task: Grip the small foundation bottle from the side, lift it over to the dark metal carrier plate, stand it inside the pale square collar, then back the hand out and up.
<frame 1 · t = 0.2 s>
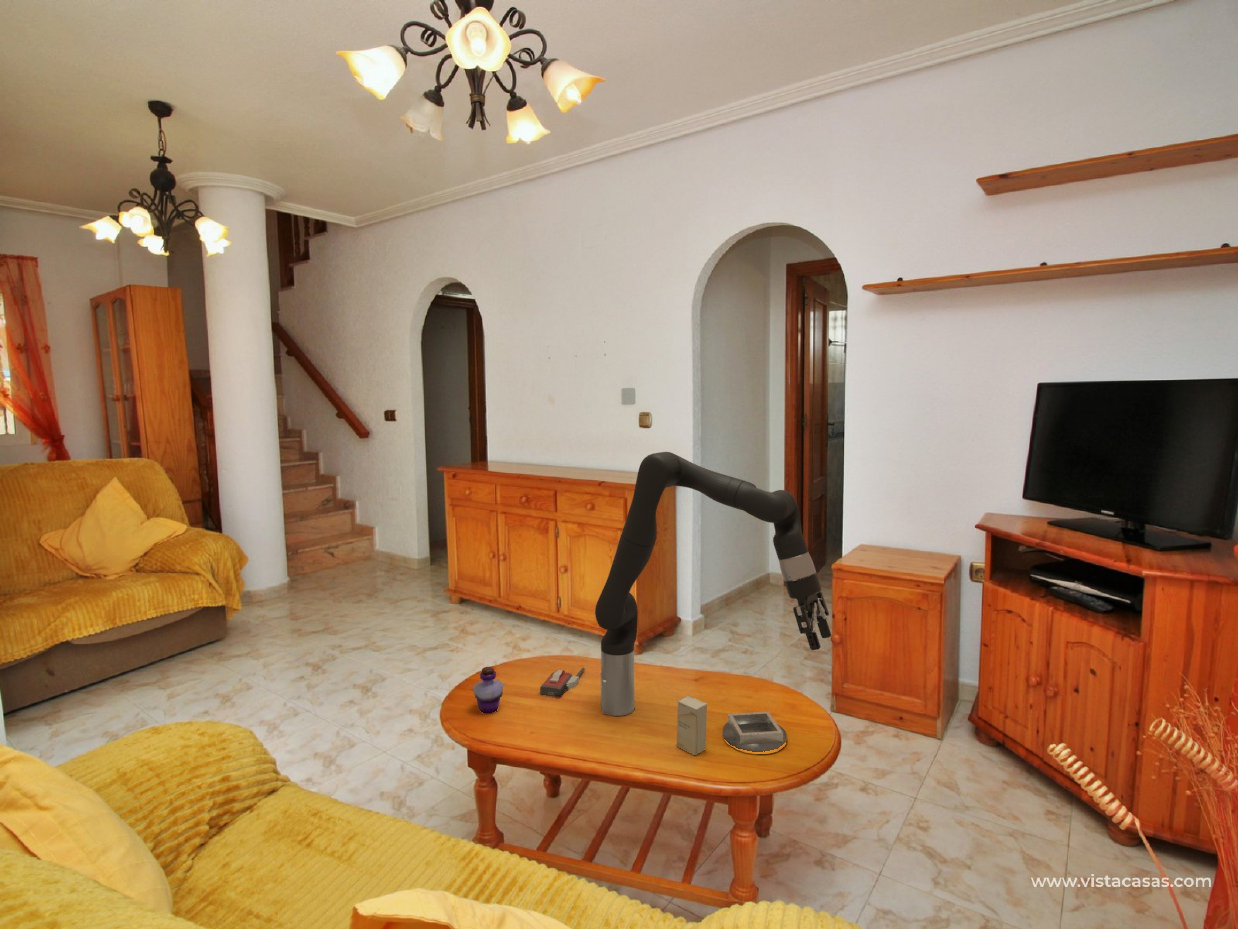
hand: (821, 643, 151), 31 cm above the table, tool tilted 20°, fingers open, 8 cm apart
skincare box: (691, 749, 164), on the table
potion bottle: (489, 710, 185), on the table
walkie-talkie: (563, 685, 201), on the table
carrier: (754, 738, 169), on the table
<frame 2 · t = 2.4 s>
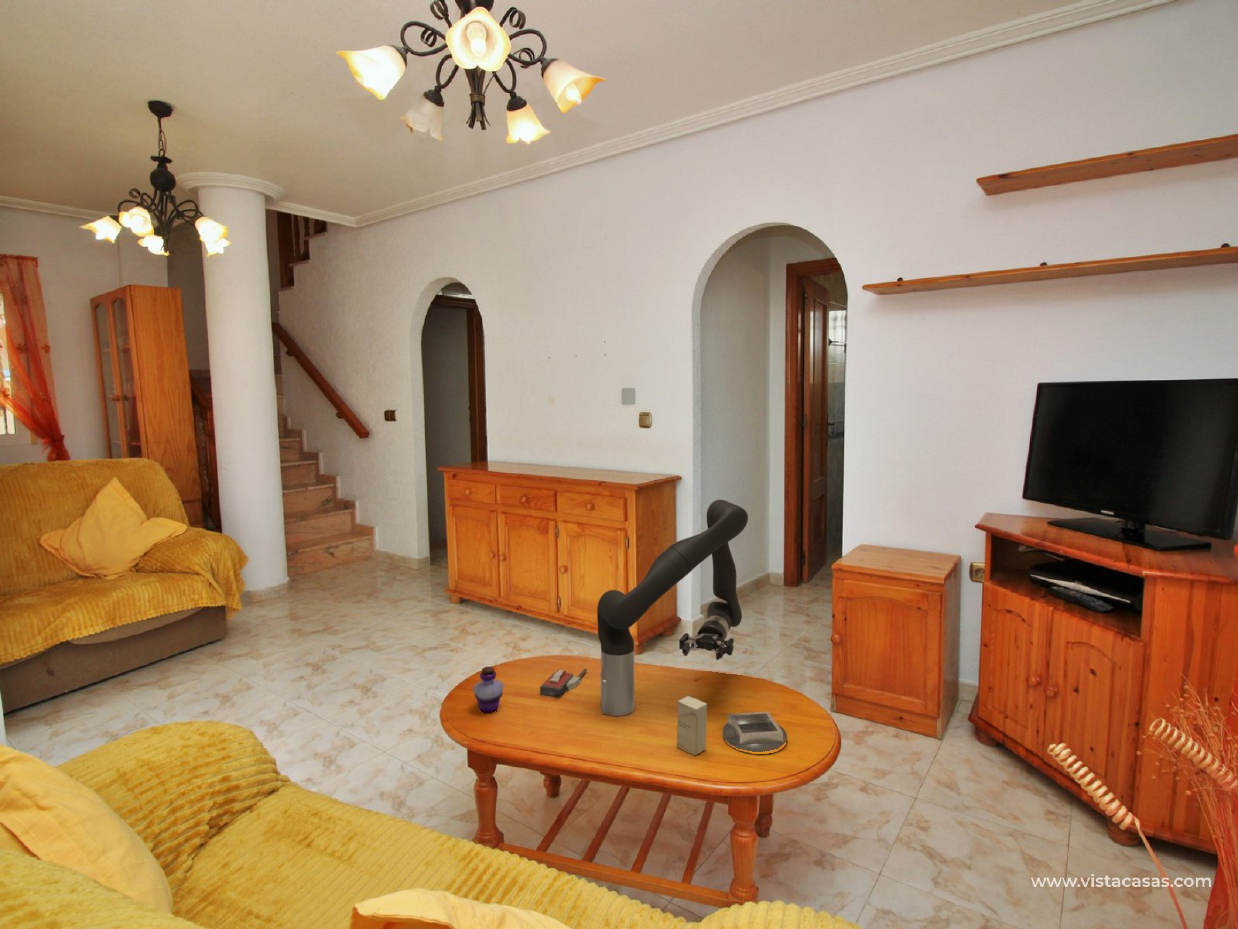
hand: (701, 654, 172), 20 cm above the table, tool horizontal, fingers open, 8 cm apart
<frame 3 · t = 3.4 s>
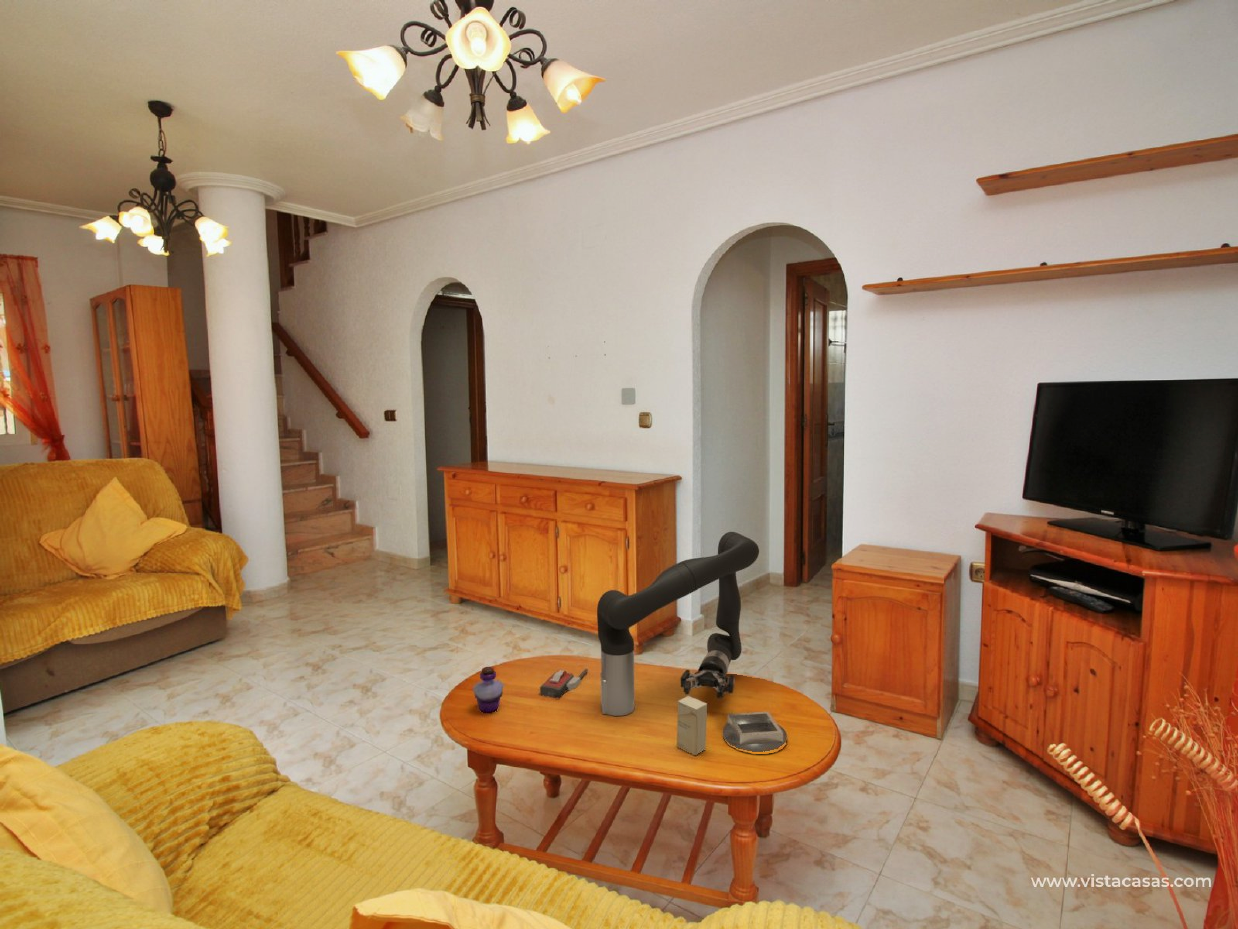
hand: (702, 693, 173), 9 cm above the table, tool horizontal, fingers open, 8 cm apart
nothing on the table moved.
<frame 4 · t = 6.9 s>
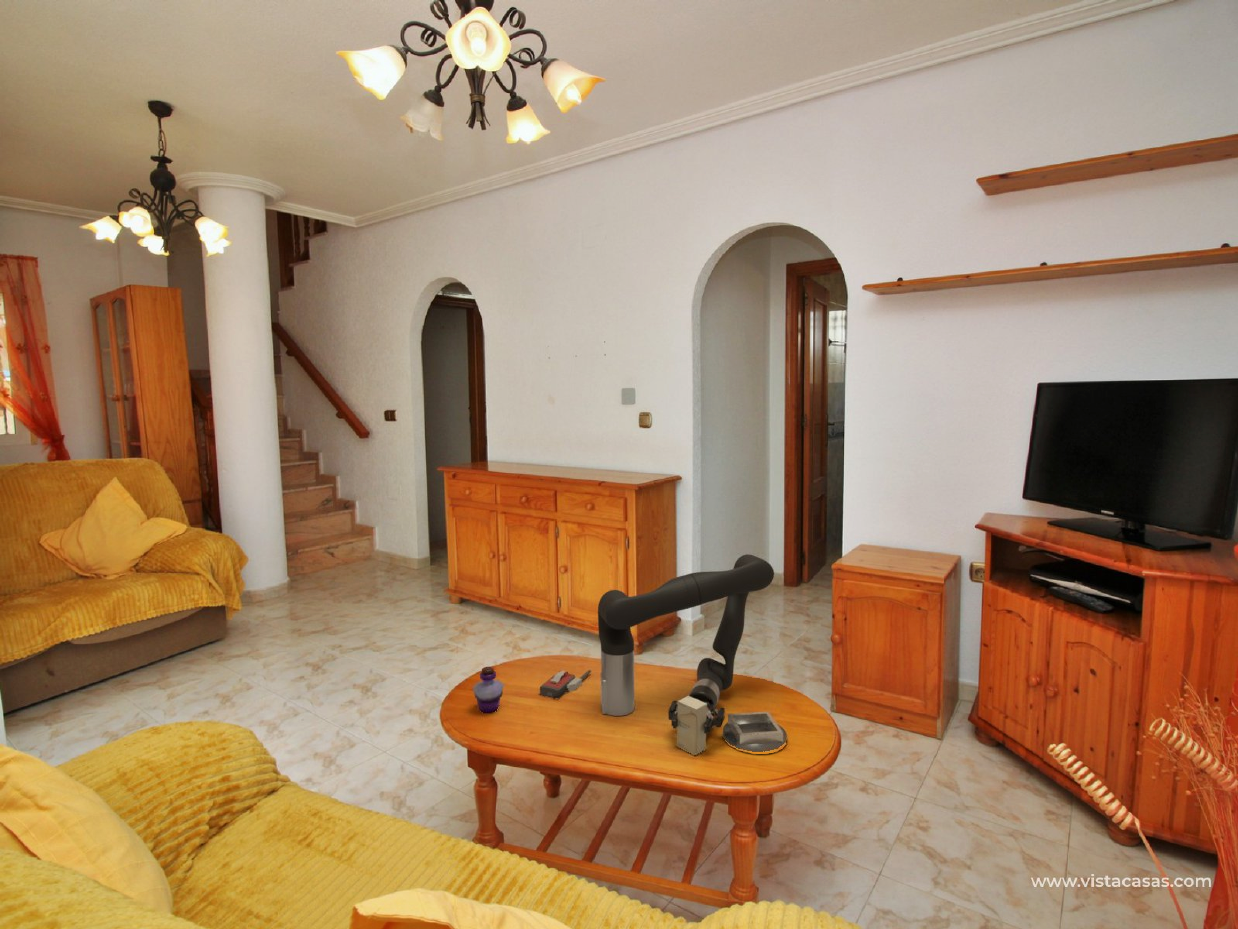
hand: (689, 727, 161), 7 cm above the table, tool horizontal, fingers closed on skincare box, 7 cm apart
skincare box: (691, 749, 164), on the table, touching gripper
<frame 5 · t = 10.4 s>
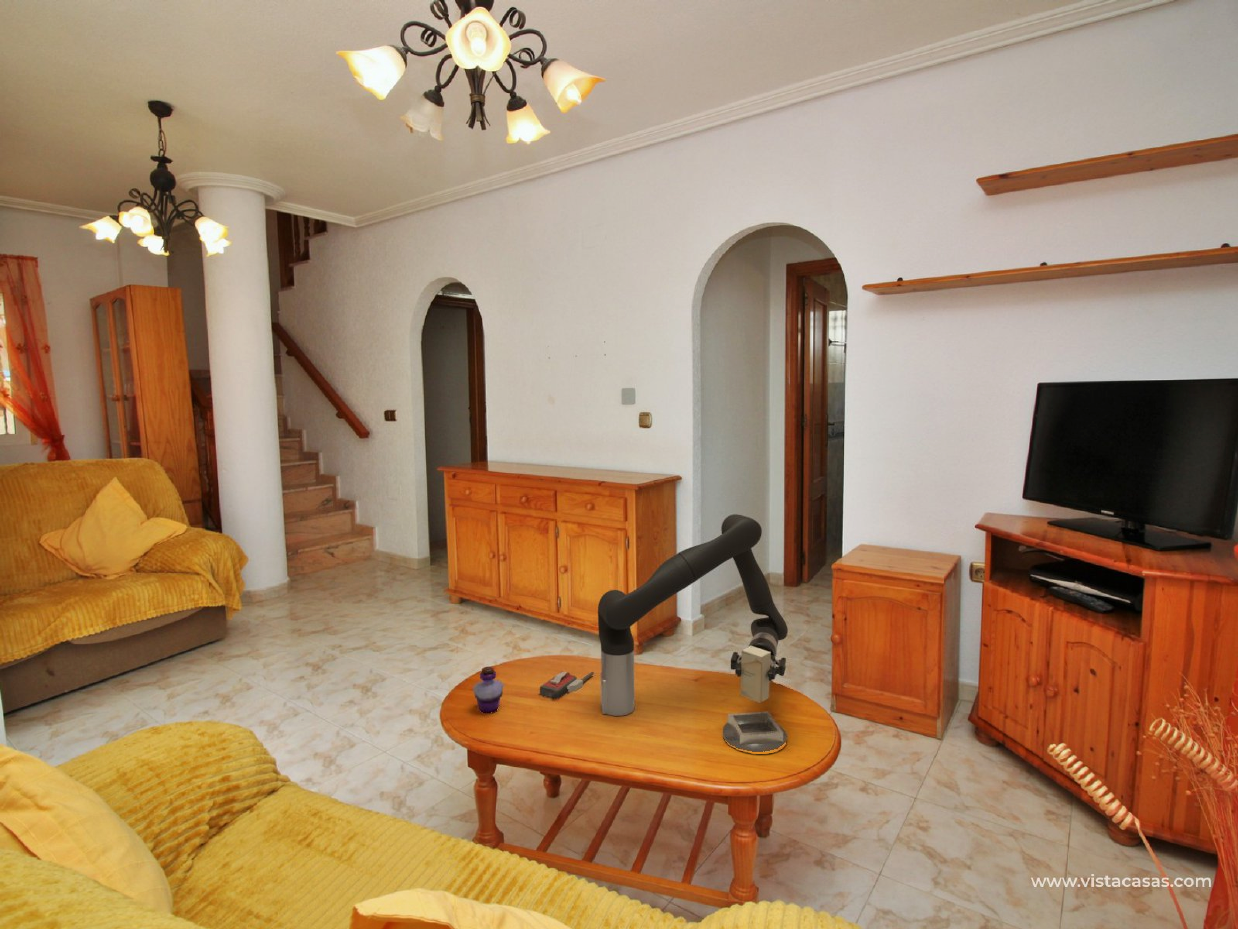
hand: (754, 675, 165), 18 cm above the table, tool horizontal, fingers closed on skincare box, 7 cm apart
skincare box: (755, 697, 167), point 11 cm above the table, touching gripper
when the fingers open (9 cm above the table, at t = 13.0 s): skincare box stays where it is, resting on carrier.
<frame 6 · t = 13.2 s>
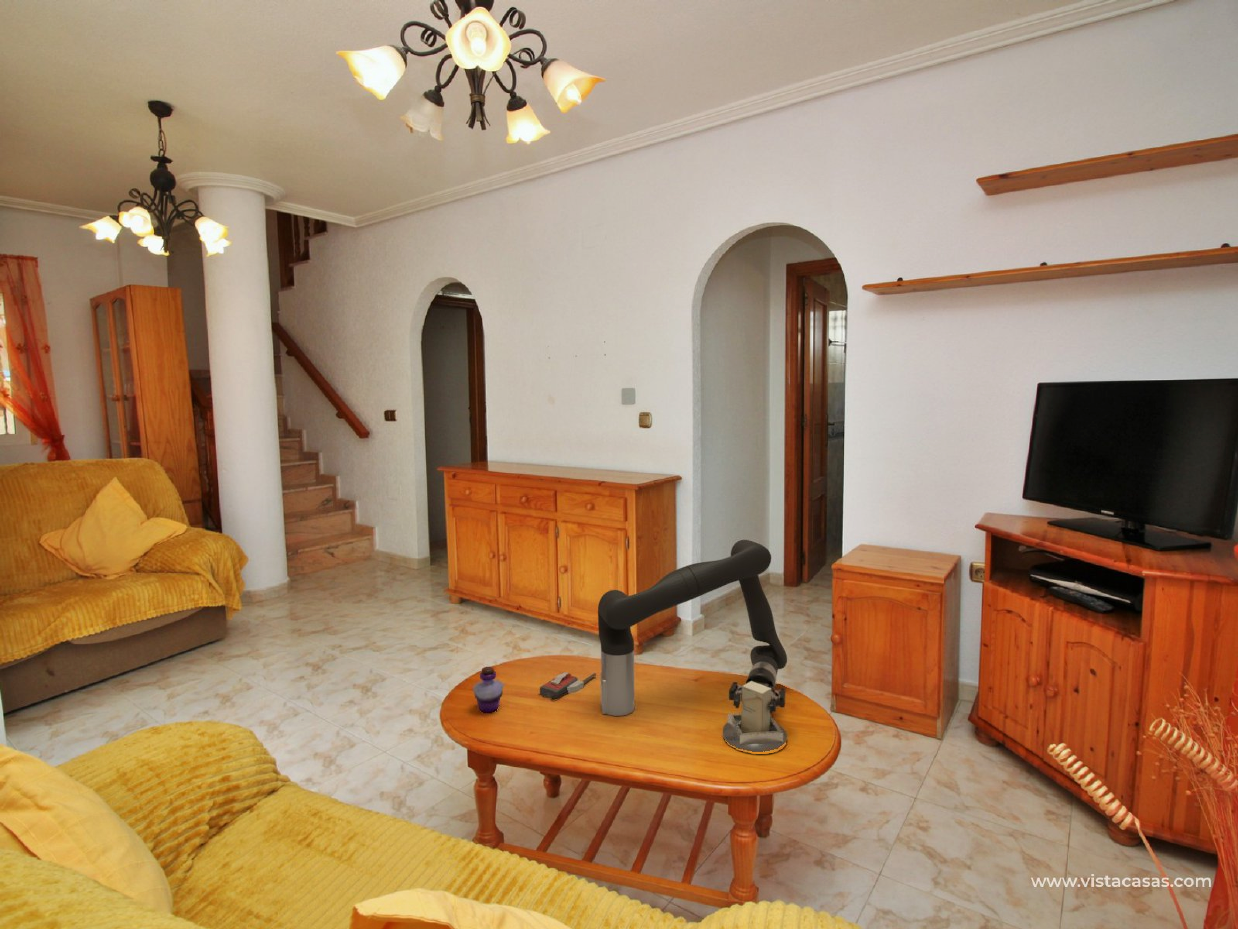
hand: (753, 707, 166), 9 cm above the table, tool horizontal, fingers open, 8 cm apart
skincare box: (755, 733, 168), point 1 cm above the table, touching carrier
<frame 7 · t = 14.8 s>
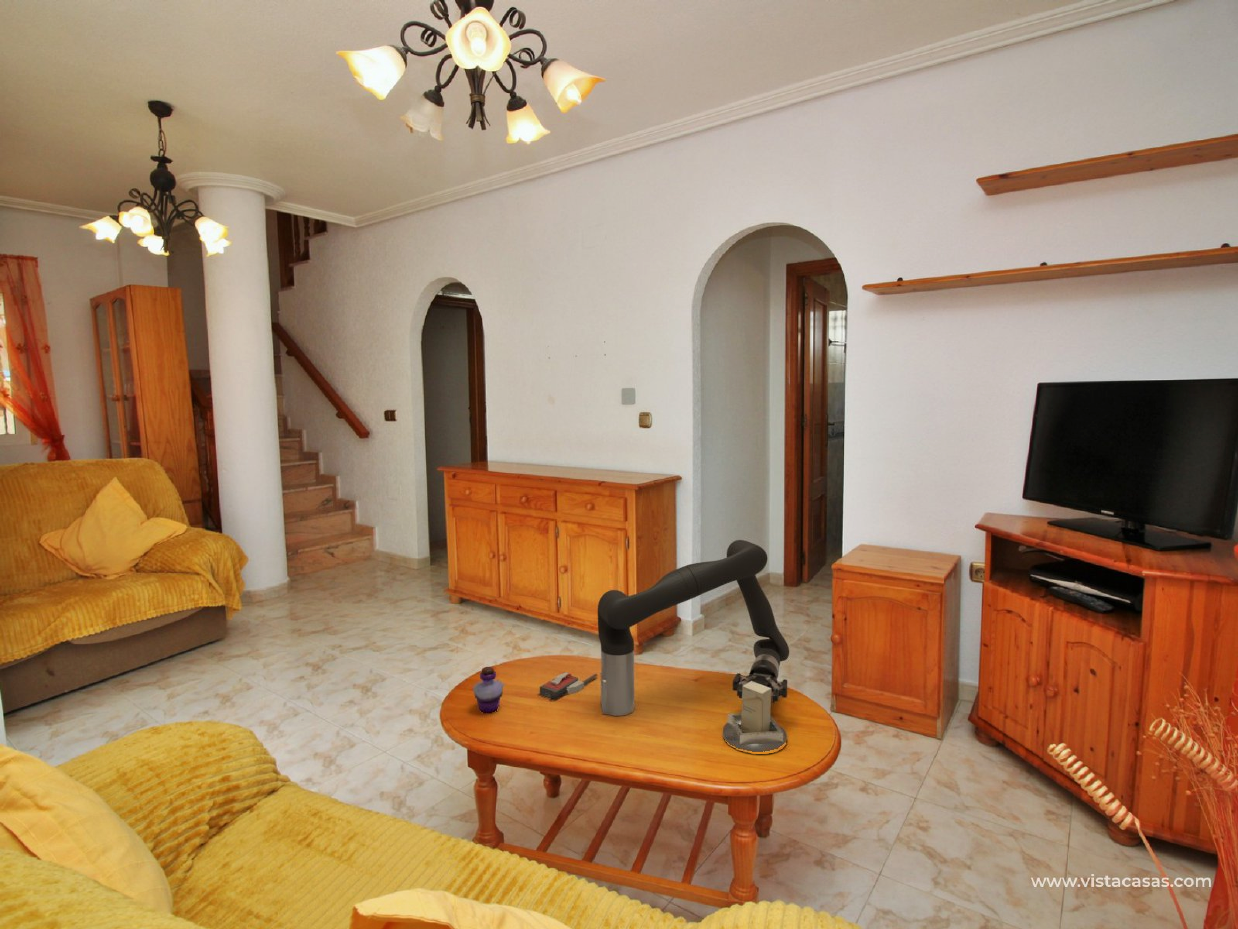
hand: (756, 697, 171), 9 cm above the table, tool horizontal, fingers open, 8 cm apart
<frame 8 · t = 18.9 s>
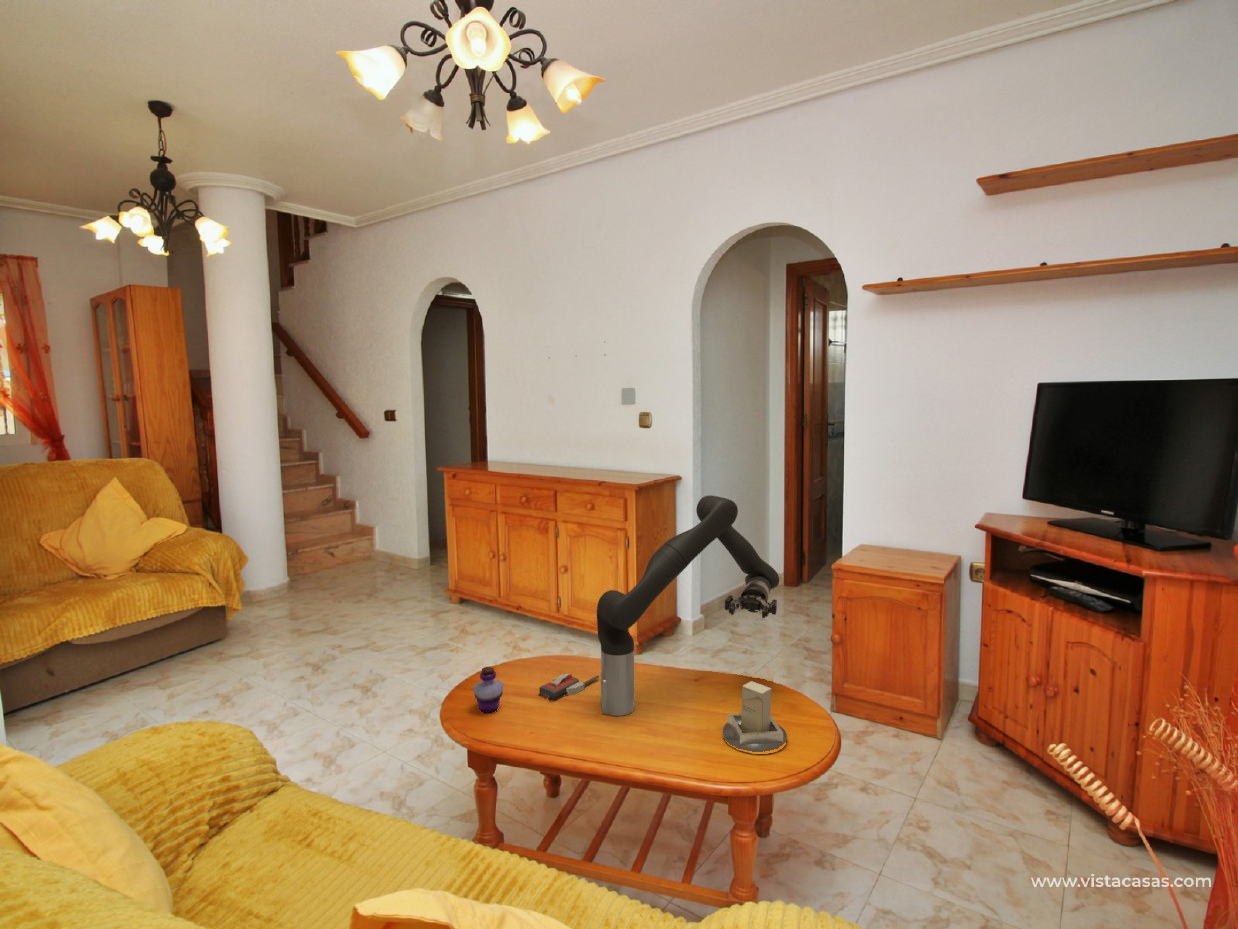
hand: (747, 613, 180), 28 cm above the table, tool horizontal, fingers open, 8 cm apart
at the end: skincare box 0.3 cm off-centre on the carrier, point 1.3 cm above the carrier's base; skincare box tilted 0°; the gripper is holding nothing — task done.
